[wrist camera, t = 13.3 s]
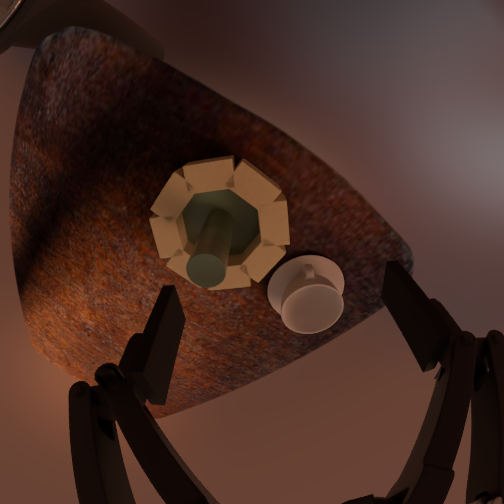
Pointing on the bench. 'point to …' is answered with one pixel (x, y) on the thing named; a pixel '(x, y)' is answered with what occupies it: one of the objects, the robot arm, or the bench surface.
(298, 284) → the teacup
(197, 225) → the stand
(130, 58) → the bench surface
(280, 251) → the ring of blocks
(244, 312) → the bench surface
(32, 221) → the bench surface
